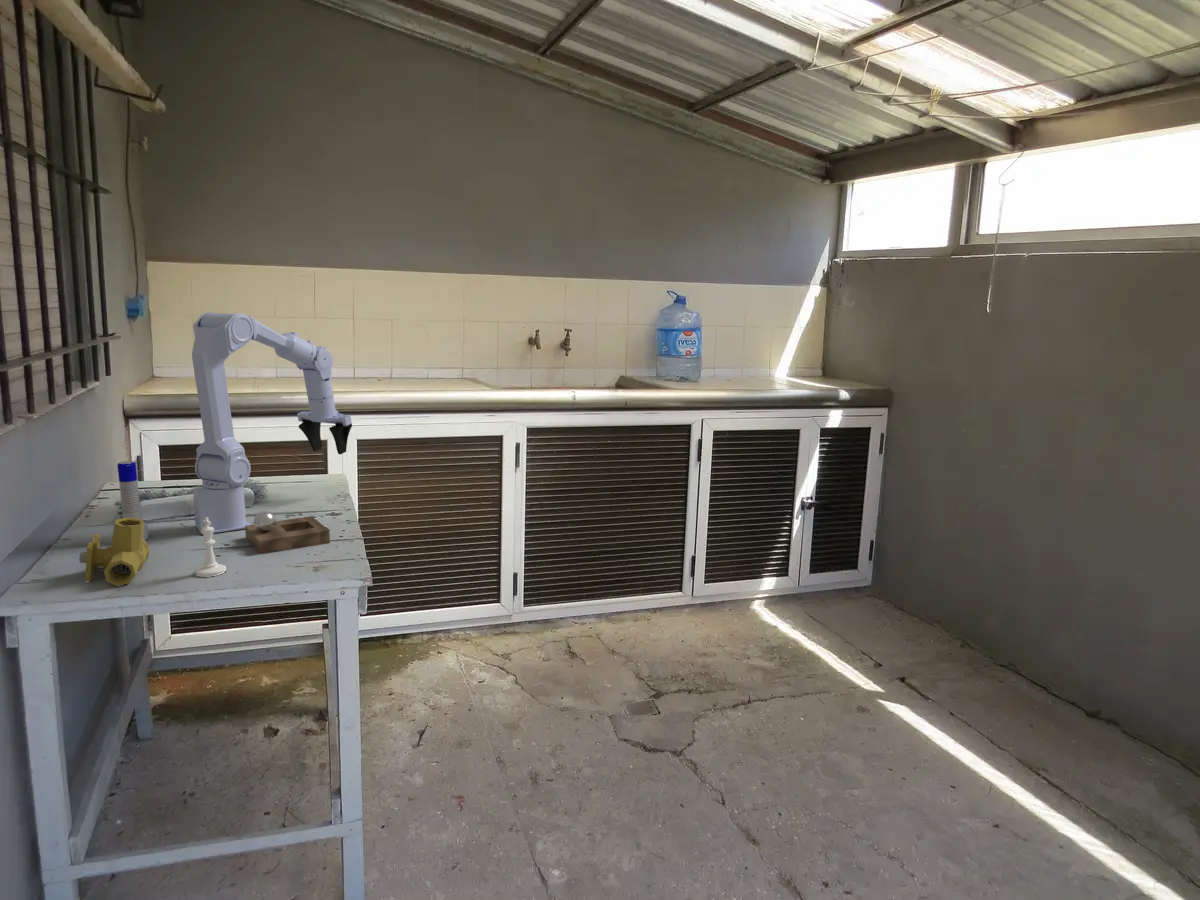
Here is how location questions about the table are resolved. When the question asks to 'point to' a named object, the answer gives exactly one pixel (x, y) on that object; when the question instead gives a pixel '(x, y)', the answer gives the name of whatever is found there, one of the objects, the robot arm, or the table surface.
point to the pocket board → (288, 535)
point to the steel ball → (264, 521)
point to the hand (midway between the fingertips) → (329, 451)
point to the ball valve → (118, 553)
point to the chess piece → (209, 554)
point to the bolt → (130, 492)
